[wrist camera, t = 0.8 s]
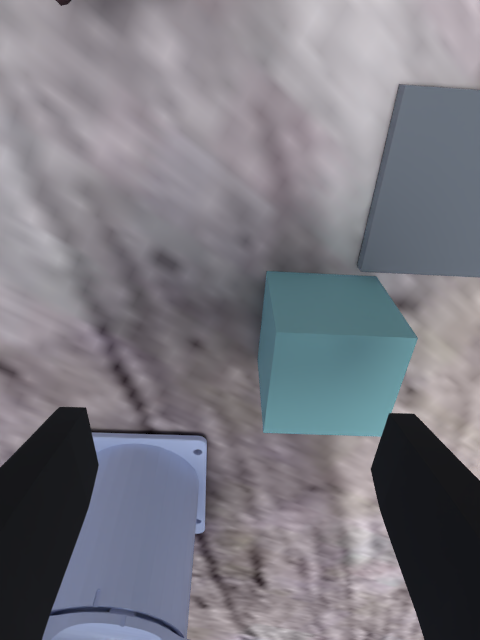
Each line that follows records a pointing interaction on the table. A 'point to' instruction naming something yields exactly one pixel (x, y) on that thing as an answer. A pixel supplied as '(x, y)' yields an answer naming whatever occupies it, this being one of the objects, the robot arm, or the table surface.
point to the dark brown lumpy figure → (63, 2)
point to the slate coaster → (428, 187)
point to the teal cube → (330, 354)
